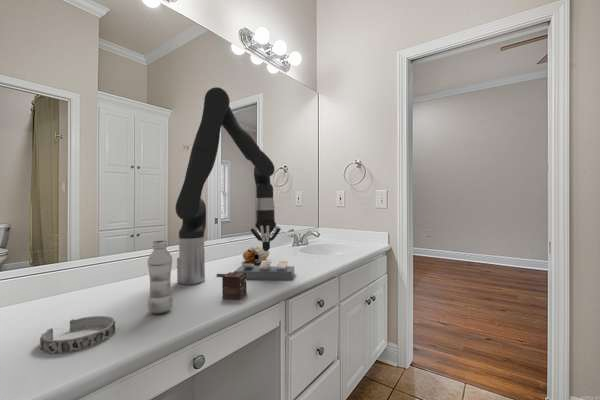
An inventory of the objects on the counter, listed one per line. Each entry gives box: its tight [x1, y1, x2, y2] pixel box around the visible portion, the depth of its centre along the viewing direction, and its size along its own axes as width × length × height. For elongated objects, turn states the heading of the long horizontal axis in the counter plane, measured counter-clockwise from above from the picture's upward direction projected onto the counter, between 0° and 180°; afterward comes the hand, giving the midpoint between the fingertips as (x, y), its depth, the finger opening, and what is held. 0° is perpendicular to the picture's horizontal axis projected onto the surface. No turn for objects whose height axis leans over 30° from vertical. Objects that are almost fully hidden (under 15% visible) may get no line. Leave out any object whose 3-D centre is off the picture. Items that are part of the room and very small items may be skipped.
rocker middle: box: [259, 260, 272, 270], centre depth 118 cm, size 4×6×2 cm, turn 175°
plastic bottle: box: [147, 240, 174, 315], centre depth 82 cm, size 6×7×20 cm
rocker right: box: [276, 260, 288, 270], centre depth 117 cm, size 4×6×2 cm, turn 175°
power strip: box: [215, 265, 295, 281], centre depth 118 cm, size 32×9×3 cm, turn 85°
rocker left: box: [241, 262, 255, 268], centre depth 118 cm, size 4×6×2 cm, turn 175°
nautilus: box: [241, 246, 270, 265], centre depth 143 cm, size 8×22×15 cm
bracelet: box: [39, 315, 116, 355], centre depth 67 cm, size 14×14×3 cm
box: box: [221, 271, 248, 300], centre depth 94 cm, size 6×6×7 cm
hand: (266, 250), depth 119 cm, fingers closed
